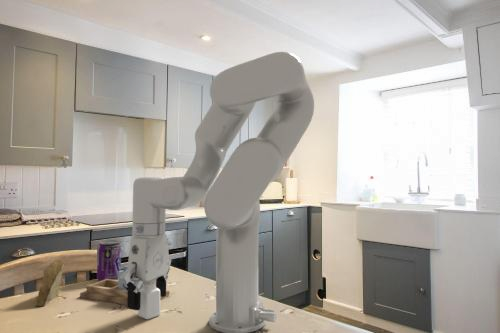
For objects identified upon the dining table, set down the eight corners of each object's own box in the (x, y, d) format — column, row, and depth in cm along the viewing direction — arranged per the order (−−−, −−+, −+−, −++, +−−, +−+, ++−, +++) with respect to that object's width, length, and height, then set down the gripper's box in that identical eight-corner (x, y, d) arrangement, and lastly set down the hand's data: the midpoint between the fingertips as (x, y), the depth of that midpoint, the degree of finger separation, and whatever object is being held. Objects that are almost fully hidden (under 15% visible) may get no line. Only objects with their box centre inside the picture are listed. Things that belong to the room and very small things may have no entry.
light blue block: (155, 293, 98) (155, 266, 98) (145, 298, 94) (145, 270, 94) (128, 289, 101) (128, 263, 101) (118, 293, 98) (118, 267, 98)
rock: (49, 300, 90) (78, 283, 99) (29, 272, 91) (61, 258, 100) (25, 321, 93) (56, 302, 103) (6, 294, 94) (39, 278, 103)
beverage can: (112, 283, 111) (112, 244, 112) (92, 282, 113) (92, 243, 113) (125, 277, 118) (125, 240, 118) (105, 275, 120) (105, 239, 120)
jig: (169, 295, 100) (169, 285, 100) (146, 307, 90) (146, 296, 91) (107, 286, 108) (107, 277, 108) (80, 297, 99) (80, 286, 99)
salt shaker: (136, 316, 85) (137, 275, 85) (151, 311, 88) (151, 272, 88) (146, 320, 82) (146, 278, 83) (161, 315, 86) (161, 275, 86)
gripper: (137, 236, 76) (136, 318, 76) (182, 225, 92) (181, 293, 92) (109, 233, 79) (108, 312, 79) (158, 224, 95) (156, 289, 95)
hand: (147, 302), depth 85 cm, fingers open, 9 cm apart
